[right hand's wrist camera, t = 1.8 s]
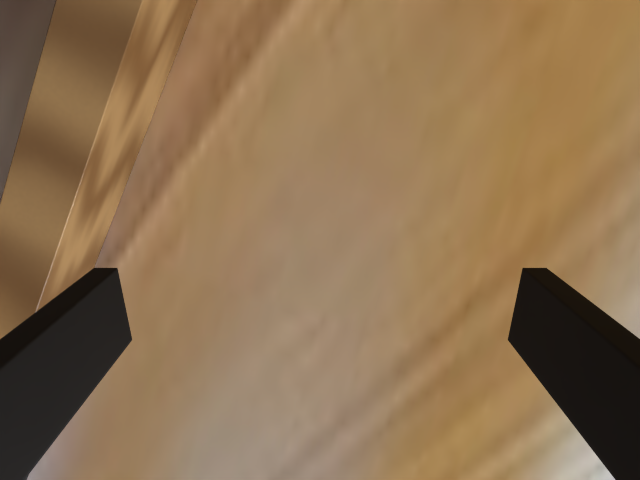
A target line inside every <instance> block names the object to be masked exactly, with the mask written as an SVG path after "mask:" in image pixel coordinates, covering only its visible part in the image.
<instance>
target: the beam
mask: <svg viewBox="0 0 640 480" xmlns="http://www.w3.org/2000/svg"><path fill="white" fill-rule="evenodd" d="M196 2H197V0H56V3H55V6H54V10H53V13H52V17H51V21H50V24H49V28H48V32H47V35H46V39H45V43H44V46H43V50H42V53H41V57H40V61H39V64H38V68H37V72H36V75H35V79H34V83H33V86H32V90H31V93H30V97H29V101H28V104H27V108H26V112H25V115H24V119H23V123H22V126H21V130H20V134H19V137H18V141H17V144H16V148H15V152H14V155H13V159H12V163H11V166H10V170H9V174H8V177H7V181H6V184H5V188H4V192H3V195H2V199H1V203H0V339H1V338H2V337H4V336H5V335H6V334H8V333H9V332H10V331H12V330H13V329H14V328H16V327H17V326H18V325H19V324H21V323H22V322H23V321H25V320H26V319H27V318H29V317H30V316H31V315H33V314H34V313H35V312H37V311H38V310H39V309H40V308H42V307H43V306H44V305H46V304H47V303H48V302H50V301H51V300H52V299H54V298H55V297H56V296H58V295H59V294H60V293H61V292H63V291H64V290H65V289H67V288H68V287H69V286H71V285H72V284H73V283H75V282H76V281H77V280H79V279H80V278H81V277H83V276H84V275H85V274H86V273H88V272H89V271H90V270H92V269H93V268H94V266H95V264H96V261H97V258H98V256H99V253H100V251H101V248H102V245H103V243H104V240H105V238H106V235H107V233H108V230H109V227H110V225H111V222H112V220H113V217H114V214H115V212H116V209H117V207H118V204H119V201H120V199H121V196H122V194H123V191H124V188H125V186H126V183H127V181H128V178H129V176H130V173H131V170H132V168H133V165H134V163H135V160H136V157H137V155H138V152H139V150H140V147H141V144H142V142H143V139H144V137H145V134H146V131H147V129H148V126H149V124H150V121H151V119H152V116H153V113H154V111H155V108H156V106H157V103H158V100H159V98H160V95H161V93H162V90H163V87H164V85H165V82H166V80H167V77H168V75H169V72H170V69H171V67H172V64H173V62H174V59H175V56H176V54H177V51H178V49H179V46H180V43H181V41H182V38H183V36H184V33H185V30H186V28H187V25H188V23H189V20H190V18H191V15H192V12H193V10H194V7H195V5H196Z"/></svg>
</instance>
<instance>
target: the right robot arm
mask: <svg viewBox="0 0 640 480" xmlns="http://www.w3.org/2000/svg"><path fill="white" fill-rule="evenodd" d="M131 341H132V337H131V332H130V327H129V322H128V317H127V313H126V308H125V303H124V298H123V293H122V288H121V284H120V279H119V274H118V269H117V268H93V269H92V270H90V271H89V272H88V273H86V274H85V275H84V276H83V277H81V278H80V279H79V280H77V281H76V282H75V283H73V284H72V285H71V286H69V287H68V288H67V289H65V290H64V291H63V292H61V293H60V294H59V295H58V296H56V297H55V298H54V299H52V300H51V301H50V302H48V303H47V304H46V305H44V306H43V307H42V308H40V309H39V310H38V311H37V312H35V313H34V314H33V315H31V316H30V317H29V318H27V319H26V320H25V321H23V322H22V323H21V324H19V325H18V326H17V327H16V328H14V329H13V330H12V331H10V332H9V333H8V334H6V335H5V336H4V337H2V338H1V339H0V480H25V478H26V477H27V476H28V474H29V473H30V472H31V471H32V469H33V468H34V467H35V465H36V464H37V463H38V461H39V460H40V459H41V458H42V456H43V455H44V454H45V452H46V451H47V450H48V448H49V447H50V446H51V445H52V443H53V442H54V441H55V439H56V438H57V437H58V435H59V434H60V433H61V432H62V430H63V429H64V428H65V426H66V425H67V424H68V422H69V421H70V420H71V419H72V417H73V416H74V415H75V413H76V412H77V411H78V409H79V408H80V407H81V406H82V404H83V403H84V402H85V400H86V399H87V398H88V396H89V395H90V394H91V393H92V391H93V390H94V389H95V387H96V386H97V385H98V383H99V382H100V381H101V380H102V378H103V377H104V376H105V374H106V373H107V372H108V370H109V369H110V368H111V367H112V365H113V364H114V363H115V361H116V360H117V359H118V357H119V356H120V355H121V354H122V352H123V351H124V350H125V348H126V347H127V346H128V345H129V343H130V342H131ZM508 341H509V342H510V343H511V345H512V346H513V347H514V348H515V350H516V351H517V352H518V354H519V355H520V356H521V357H522V359H523V360H524V361H525V363H526V364H527V365H528V367H529V368H530V369H531V370H532V372H533V373H534V374H535V376H536V377H537V378H538V380H539V381H540V382H541V383H542V385H543V386H544V387H545V389H546V390H547V391H548V393H549V394H550V395H551V396H552V398H553V399H554V400H555V402H556V403H557V404H558V406H559V407H560V408H561V409H562V411H563V412H564V413H565V415H566V416H567V417H568V419H569V420H570V421H571V422H572V424H573V425H574V426H575V428H576V429H577V430H578V432H579V433H580V434H581V435H582V437H583V438H584V439H585V441H586V442H587V443H588V445H589V446H590V447H591V448H592V450H593V451H594V452H595V454H596V455H597V456H598V458H599V459H600V460H601V461H602V463H603V464H604V465H605V467H606V468H607V469H608V471H609V472H610V473H611V474H612V476H613V477H614V478H615V480H640V339H639V338H638V337H636V336H635V335H634V334H632V333H631V332H630V331H628V330H627V329H626V328H624V327H623V326H622V325H621V324H619V323H618V322H617V321H615V320H614V319H613V318H611V317H610V316H609V315H607V314H606V313H605V312H603V311H602V310H601V309H600V308H598V307H597V306H596V305H594V304H593V303H592V302H590V301H589V300H588V299H586V298H585V297H584V296H582V295H581V294H580V293H579V292H577V291H576V290H575V289H573V288H572V287H571V286H569V285H568V284H567V283H565V282H564V281H563V280H561V279H560V278H559V277H557V276H556V275H555V274H554V273H552V272H551V271H550V270H548V269H547V268H523V269H522V274H521V279H520V284H519V288H518V293H517V298H516V303H515V308H514V313H513V317H512V322H511V327H510V332H509V337H508Z"/></svg>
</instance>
